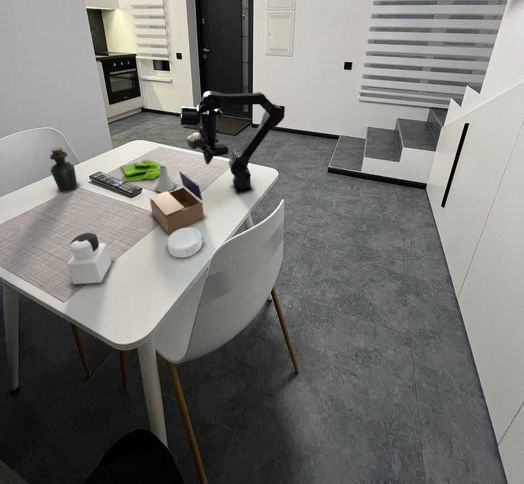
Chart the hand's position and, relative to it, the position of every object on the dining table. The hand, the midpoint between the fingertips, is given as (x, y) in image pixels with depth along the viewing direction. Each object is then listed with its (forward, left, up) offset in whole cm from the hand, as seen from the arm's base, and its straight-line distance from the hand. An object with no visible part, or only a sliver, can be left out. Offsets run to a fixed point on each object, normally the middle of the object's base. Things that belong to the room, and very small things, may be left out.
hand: (207, 163), depth 112 cm
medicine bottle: (+39, +29, -13) cm, 50 cm away
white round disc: (+14, +28, -13) cm, 34 cm away
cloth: (+26, -31, -13) cm, 42 cm away
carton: (+14, +11, -13) cm, 22 cm away
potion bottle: (+55, -26, -13) cm, 62 cm away
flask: (+17, -10, -13) cm, 23 cm away
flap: (+9, +9, -3) cm, 13 cm away
